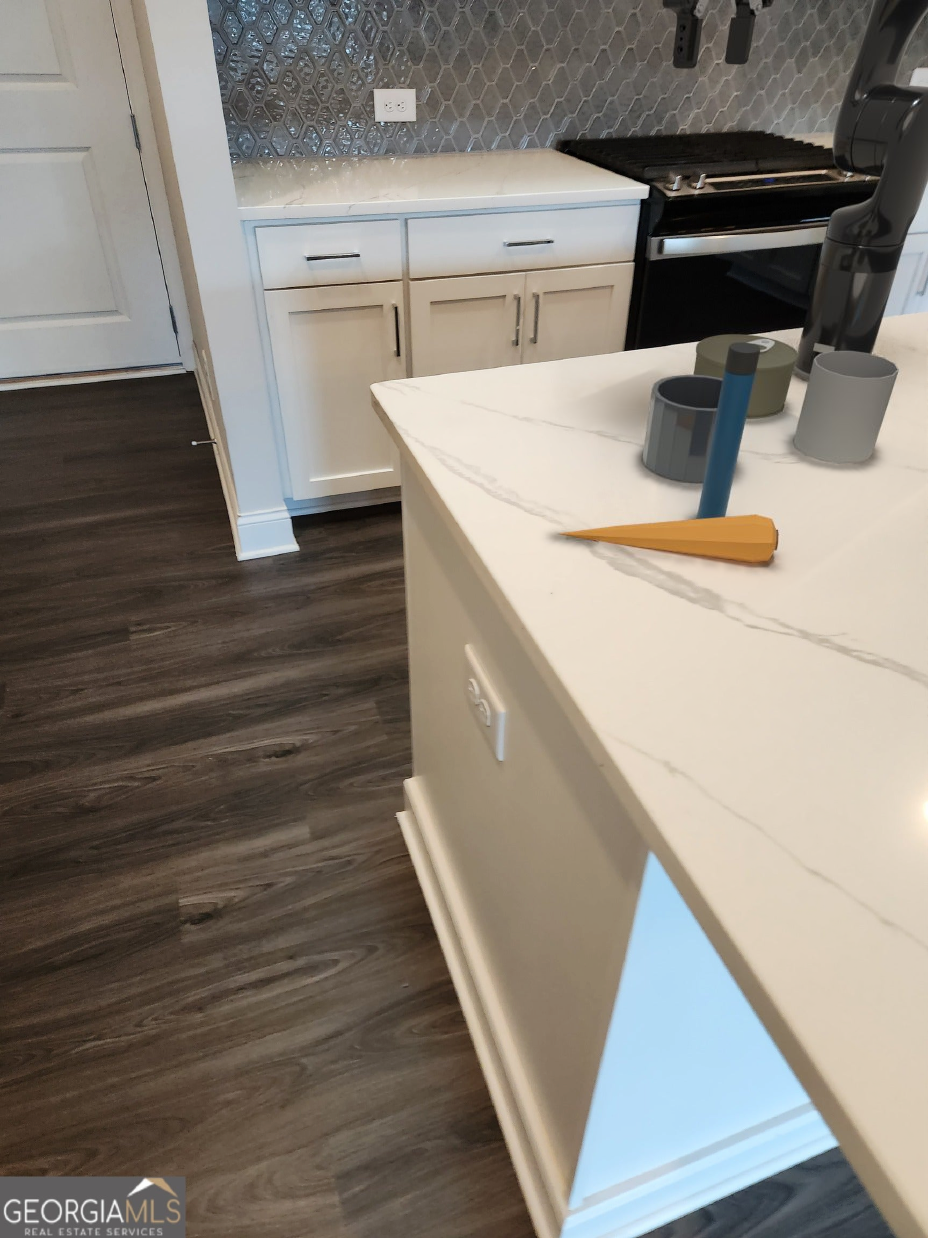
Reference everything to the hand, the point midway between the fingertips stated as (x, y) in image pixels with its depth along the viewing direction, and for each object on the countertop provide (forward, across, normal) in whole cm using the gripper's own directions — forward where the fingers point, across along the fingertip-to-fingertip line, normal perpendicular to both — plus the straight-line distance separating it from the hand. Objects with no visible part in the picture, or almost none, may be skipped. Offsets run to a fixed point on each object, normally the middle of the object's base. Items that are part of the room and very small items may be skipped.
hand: (710, 65), depth 78 cm
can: (+36, +12, -3) cm, 38 cm away
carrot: (+36, -23, -17) cm, 46 cm away
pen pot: (+36, -7, -9) cm, 38 cm away
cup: (+36, +8, -18) cm, 41 cm away
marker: (+36, -16, -18) cm, 43 cm away
